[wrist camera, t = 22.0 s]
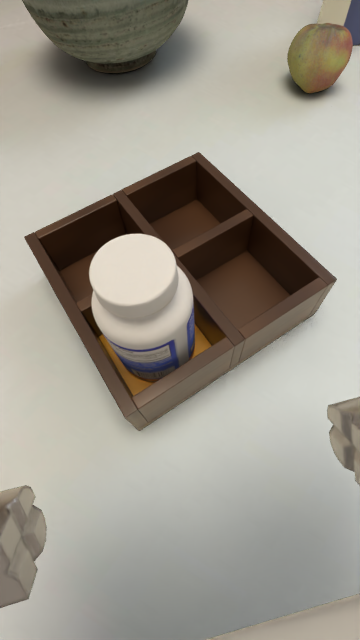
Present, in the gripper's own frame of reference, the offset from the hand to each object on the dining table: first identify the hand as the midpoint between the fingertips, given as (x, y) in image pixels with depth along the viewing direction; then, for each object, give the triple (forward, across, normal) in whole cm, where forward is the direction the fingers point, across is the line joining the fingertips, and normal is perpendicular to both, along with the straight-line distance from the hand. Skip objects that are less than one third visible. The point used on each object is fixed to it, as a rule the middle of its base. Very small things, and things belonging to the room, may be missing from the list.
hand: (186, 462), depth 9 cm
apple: (+34, -24, -16) cm, 45 cm away
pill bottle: (+15, 0, +2) cm, 15 cm away
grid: (+18, -2, 0) cm, 19 cm away
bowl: (+45, -3, -27) cm, 53 cm away
